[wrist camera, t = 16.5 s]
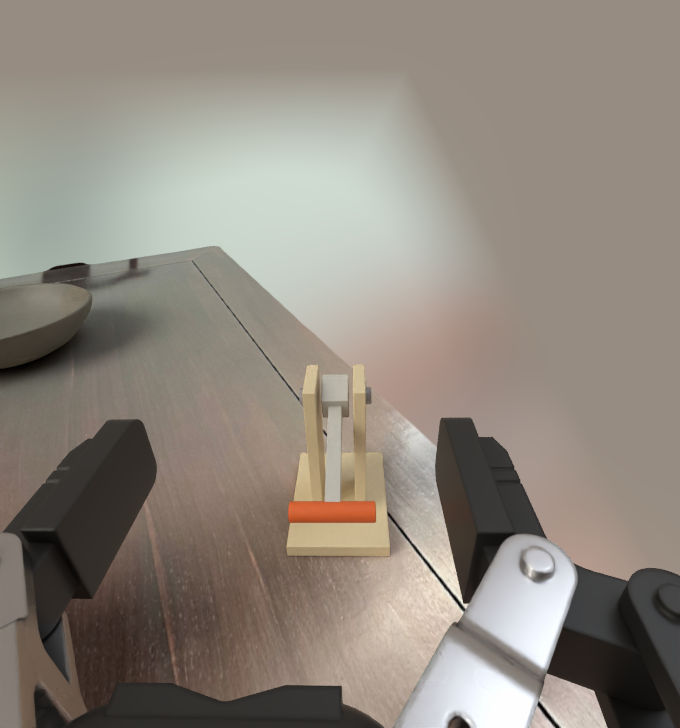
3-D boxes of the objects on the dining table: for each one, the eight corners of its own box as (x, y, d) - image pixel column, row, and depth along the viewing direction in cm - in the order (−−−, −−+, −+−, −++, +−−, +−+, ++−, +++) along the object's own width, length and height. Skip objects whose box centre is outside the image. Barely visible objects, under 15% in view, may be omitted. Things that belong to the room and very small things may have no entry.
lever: (375, 528, 30) (376, 515, 28) (291, 528, 30) (286, 515, 29) (370, 390, 38) (370, 373, 36) (303, 391, 38) (300, 374, 37)
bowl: (111, 367, 68) (95, 319, 64) (-120, 425, 57) (-158, 372, 52) (100, 310, 89) (87, 271, 85) (-70, 343, 77) (-95, 301, 73)
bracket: (389, 556, 38) (395, 422, 30) (287, 556, 38) (268, 423, 30) (381, 460, 48) (384, 343, 40) (301, 461, 48) (290, 344, 41)
